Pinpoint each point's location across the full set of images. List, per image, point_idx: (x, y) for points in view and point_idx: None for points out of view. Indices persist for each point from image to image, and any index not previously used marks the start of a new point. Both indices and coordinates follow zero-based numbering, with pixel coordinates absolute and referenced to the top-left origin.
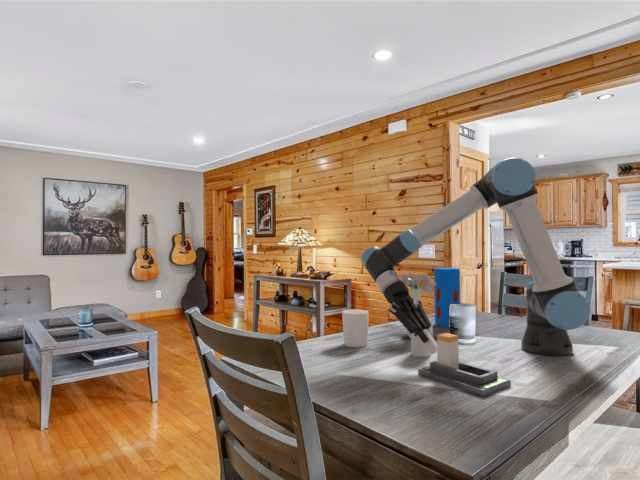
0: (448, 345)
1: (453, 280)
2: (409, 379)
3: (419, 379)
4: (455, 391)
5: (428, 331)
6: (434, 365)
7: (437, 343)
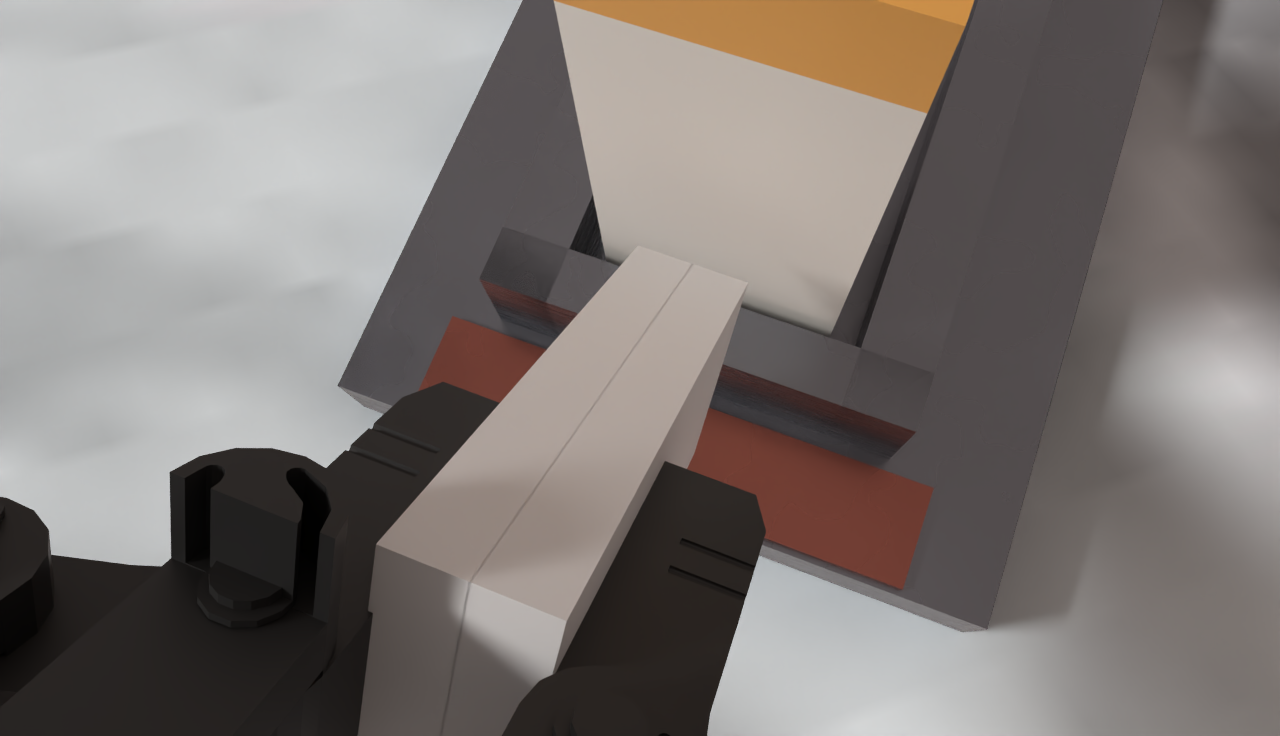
0: None
1: None
2: (1235, 677)
3: (1135, 545)
4: (1245, 40)
5: (455, 487)
6: (942, 346)
7: (904, 156)
